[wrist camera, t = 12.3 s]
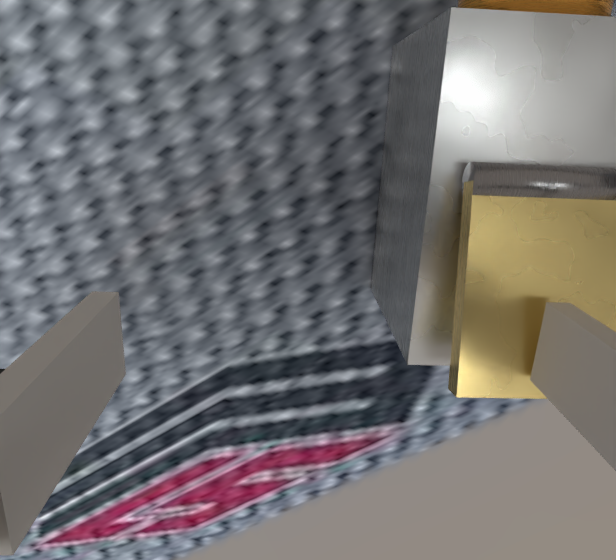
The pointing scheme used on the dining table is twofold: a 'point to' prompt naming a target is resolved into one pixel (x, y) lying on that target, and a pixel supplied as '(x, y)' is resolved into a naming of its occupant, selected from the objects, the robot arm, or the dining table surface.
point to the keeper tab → (527, 267)
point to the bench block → (477, 142)
